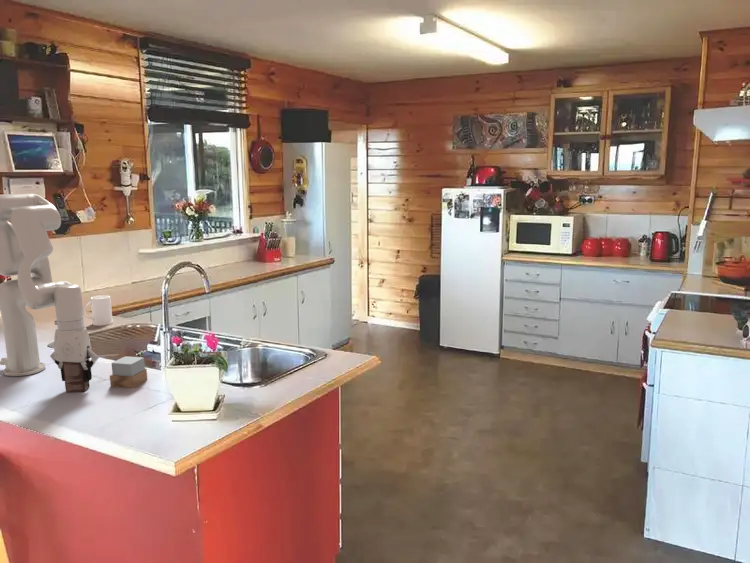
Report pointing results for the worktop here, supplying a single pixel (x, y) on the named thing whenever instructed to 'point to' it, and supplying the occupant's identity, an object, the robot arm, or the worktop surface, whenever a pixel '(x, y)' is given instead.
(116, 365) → the tower top
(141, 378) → the tower base
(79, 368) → the box
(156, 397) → the worktop surface
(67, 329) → the robot arm
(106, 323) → the mug
